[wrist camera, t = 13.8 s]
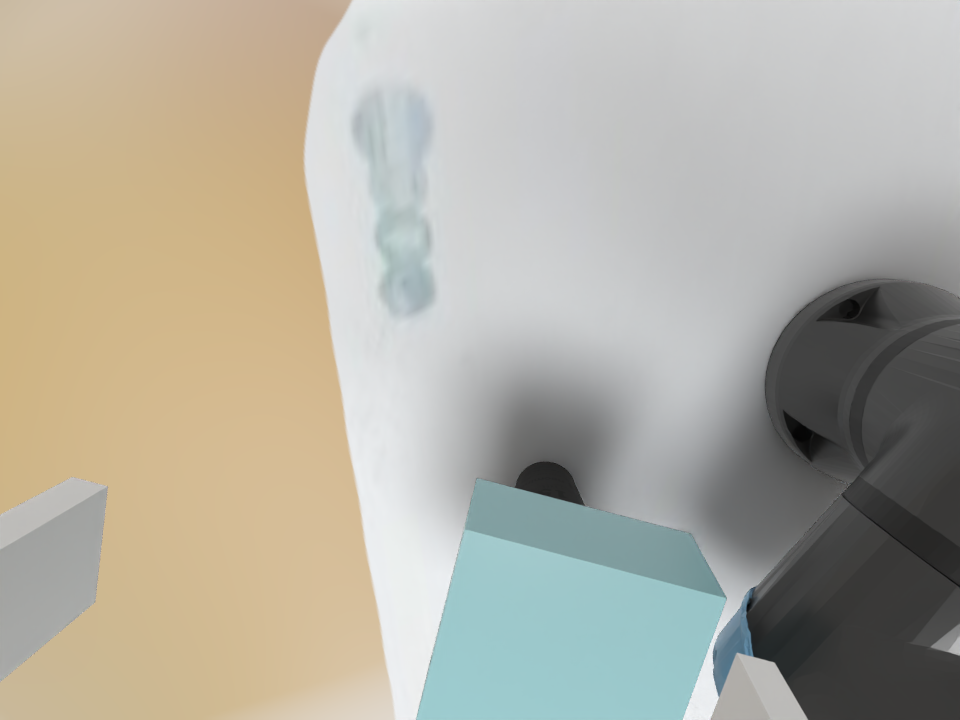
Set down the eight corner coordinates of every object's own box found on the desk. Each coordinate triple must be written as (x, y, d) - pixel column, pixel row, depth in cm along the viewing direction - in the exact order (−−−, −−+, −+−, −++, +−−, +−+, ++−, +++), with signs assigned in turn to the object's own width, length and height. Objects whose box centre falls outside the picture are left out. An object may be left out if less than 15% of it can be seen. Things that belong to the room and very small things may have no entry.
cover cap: (690, 533, 32) (726, 598, 26) (628, 716, 34) (648, 813, 28) (476, 477, 32) (464, 529, 26) (429, 662, 35) (409, 746, 29)
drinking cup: (599, 525, 48) (649, 719, 29) (508, 538, 49) (496, 735, 30) (584, 437, 47) (626, 579, 27) (491, 452, 48) (466, 600, 28)
